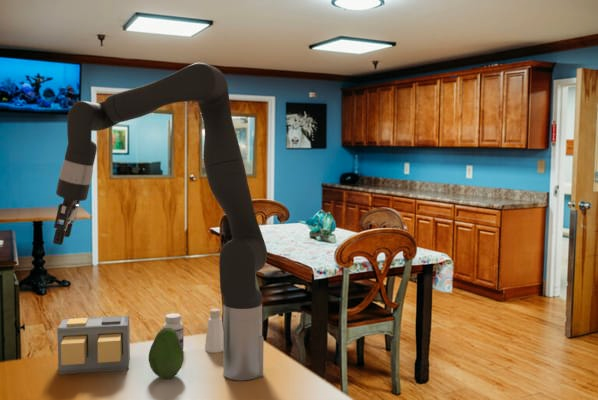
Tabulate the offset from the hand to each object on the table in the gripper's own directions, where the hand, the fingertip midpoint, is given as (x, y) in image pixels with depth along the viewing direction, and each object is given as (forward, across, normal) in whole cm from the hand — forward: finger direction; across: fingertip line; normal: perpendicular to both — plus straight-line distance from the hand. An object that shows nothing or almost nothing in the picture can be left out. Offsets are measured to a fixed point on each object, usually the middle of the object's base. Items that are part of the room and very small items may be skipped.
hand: (61, 240), depth 151 cm
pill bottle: (+22, -4, -34) cm, 41 cm away
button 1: (+23, -17, -12) cm, 31 cm away
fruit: (+21, -22, -33) cm, 45 cm away
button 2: (+21, -16, -19) cm, 33 cm away
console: (+26, -12, -16) cm, 33 cm away
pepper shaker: (+20, -4, -45) cm, 49 cm away
